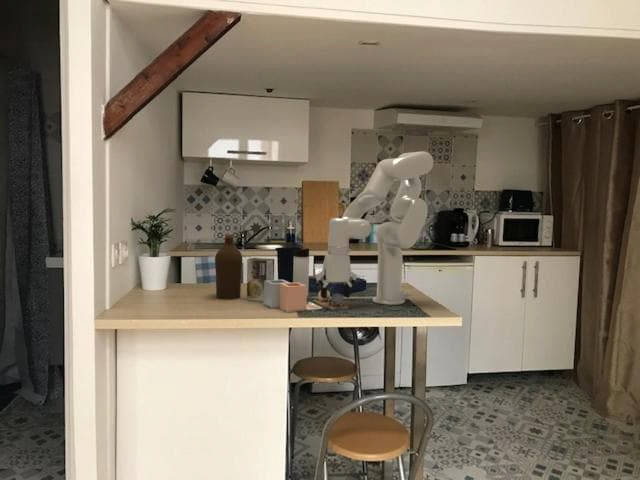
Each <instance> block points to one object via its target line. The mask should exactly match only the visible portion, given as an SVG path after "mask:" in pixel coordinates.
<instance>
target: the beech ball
mask: <svg viewBox="0 0 640 480" xmlns="http://www.w3.org/2000/svg"><path fill="white" fill-rule="evenodd" d="M330 293H331V292H330V291H329V290H328V289H327V298H326V299H324V298H322V297H321V290H319V291H318V297H317V298H319V299H320V300H323V301H327V300H328V299H331V294H330Z"/></svg>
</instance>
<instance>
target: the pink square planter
mask: <svg viewBox="0 0 640 480" xmlns="http://www.w3.org/2000/svg"><path fill="white" fill-rule="evenodd" d="M307 299H308V298H307V286H306V285H304V284H301V283H298V282H296V283H293V282H290V283H280V290H279V308H278V309H280V310H282V311H284V312H286V313H294V312H305V311H307V310H306V301H307Z"/></svg>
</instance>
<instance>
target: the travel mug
mask: <svg viewBox="0 0 640 480" xmlns="http://www.w3.org/2000/svg"><path fill="white" fill-rule="evenodd" d="M292 265H293V267H292V269H293V274H292V283H296V282H298V283H301V284H304V285H306V286H307V299H308V298H309V279H310V277H309V276H310V248H303V249H300V248H299V249H294V250H293V264H292Z"/></svg>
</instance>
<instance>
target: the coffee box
mask: <svg viewBox="0 0 640 480" xmlns="http://www.w3.org/2000/svg"><path fill="white" fill-rule="evenodd" d="M266 280H275V258H265V257H252V258H249V259H246V301H253V302H263V303H264V281H266Z"/></svg>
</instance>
